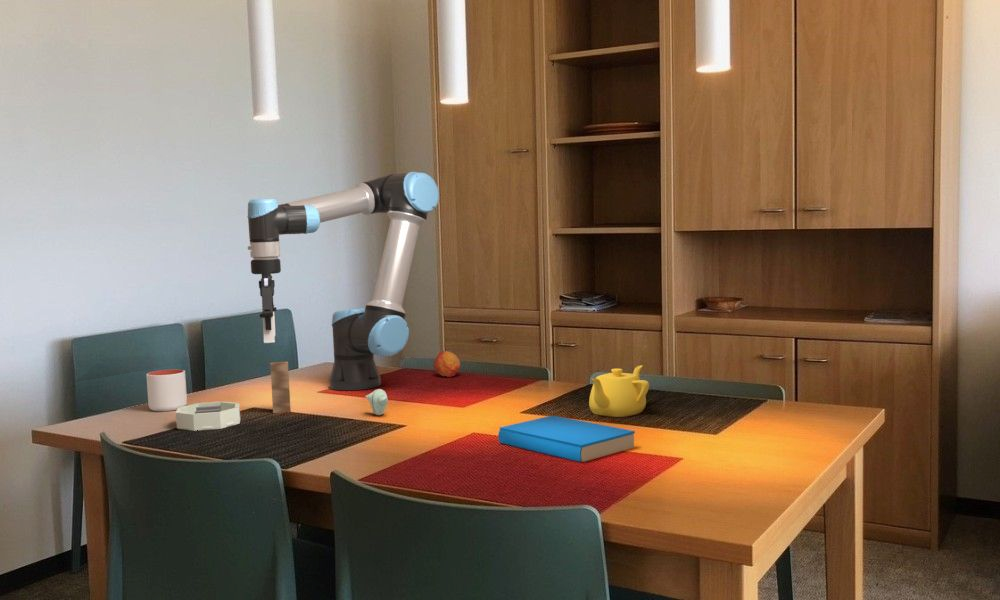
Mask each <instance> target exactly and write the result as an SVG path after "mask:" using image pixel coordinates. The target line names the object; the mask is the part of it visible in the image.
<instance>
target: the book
mask: <svg viewBox="0 0 1000 600" xmlns="http://www.w3.org/2000/svg"><path fill="white" fill-rule="evenodd" d="M635 434H636V432H635V430H631V429H625V428H619V427H615V426H611V425H604V424H599V423H593V422H589V421H583V420H578V419H573V418H568V417H565V416H558V415H549V416H544V417H540V418H536V419H531V420H527V421H523V422H517V423H514V424H508V425H504V426H499V431H498V442H499V443H500V444H503V445H507V446H510V447H515V448H520V449H524V450H528V451H533V452H536V453H541V454H545V455H549V456H553V457H557V458H562V459H566V460H570V461H575V462H580V463H583V462H587V461H592V460H595V459H597V458H601V457H606V456H608V455H612V454H616V453H619V452H622V451H626V450H629V449H633V448H635Z"/></svg>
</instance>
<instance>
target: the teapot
mask: <svg viewBox="0 0 1000 600" xmlns="http://www.w3.org/2000/svg"><path fill="white" fill-rule="evenodd" d="M642 368H643V365H637V366H636V367H635V368H634V370H633V372H632V373H629V372H628V373H627V372H623V371H624V369H623V368H611V372H608V373H604V374H600V375H597V376H596V377H595V378H594V377H593V378H592V377H591V378H590V379H591V380H592V382H593V384H592V388H591V390H590V394H589V399H588V400H589V401H588V404H589V405H588V406H589V409H590V412H591V413H592V414H593V415H595V416H603V417H611V418H626V417H630V416H634V415H638V414H640V413H642V412H643V411H644V410H645V408H646V404H647V399H646V398H647V397H646V396H647V393H649V392H648V391H649V390H650V389H649V388H650V383H649V381H647V380H645V379H641V378H640V377H641V370H642Z"/></svg>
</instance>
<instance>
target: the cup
mask: <svg viewBox="0 0 1000 600" xmlns="http://www.w3.org/2000/svg"><path fill="white" fill-rule="evenodd" d="M186 379H187V378H186V370H184V369H178V368H177V369H160V370H154V371H150V372H148V373H146V390H147V402H148V403H147V405H148V407H149V409H150V410H151V411H153V412H171V411H177V409H178V408H179V407H183V406H187V403H188V398H187V396H188V395H187V394H188V393H187V381H186Z"/></svg>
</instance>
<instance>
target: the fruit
mask: <svg viewBox="0 0 1000 600" xmlns="http://www.w3.org/2000/svg"><path fill="white" fill-rule="evenodd" d="M433 369H434V371H435V372H436V373H438V375H440V376H442V377H445V376H446V378H453V377H455V376H456V375H457V373H458V372H459V371H460V370H461V361H460V359H459V357H458V356H457V355H456V354H455V353H453V352H451V351H449V350H444V351H441V352H439V353H438V354H437V356H436V357H435V359H434V362H433ZM452 376H453V377H452Z"/></svg>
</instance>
